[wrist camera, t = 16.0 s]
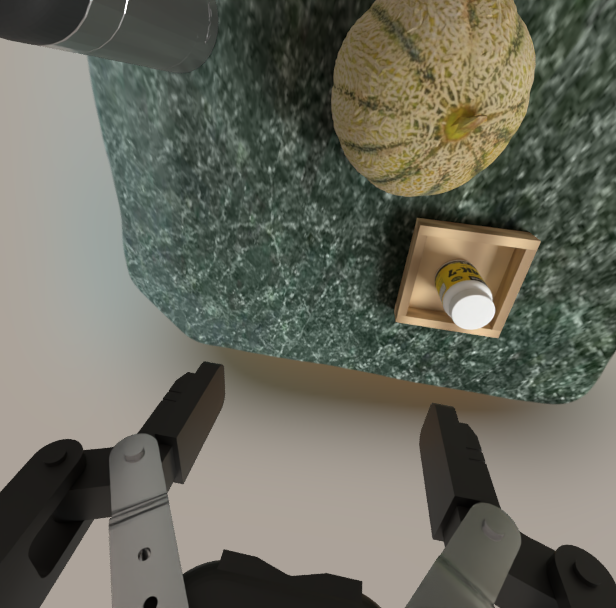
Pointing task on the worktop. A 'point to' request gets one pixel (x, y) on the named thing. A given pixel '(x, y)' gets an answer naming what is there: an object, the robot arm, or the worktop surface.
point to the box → (469, 247)
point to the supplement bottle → (464, 294)
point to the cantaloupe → (431, 91)
